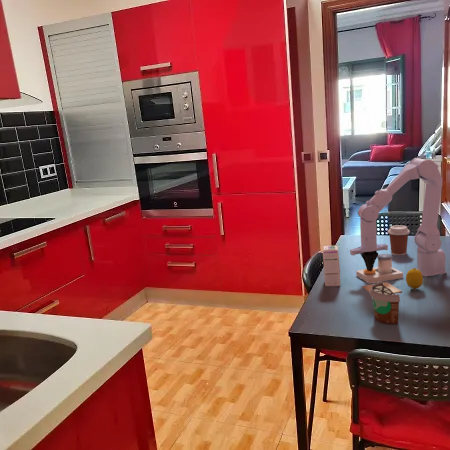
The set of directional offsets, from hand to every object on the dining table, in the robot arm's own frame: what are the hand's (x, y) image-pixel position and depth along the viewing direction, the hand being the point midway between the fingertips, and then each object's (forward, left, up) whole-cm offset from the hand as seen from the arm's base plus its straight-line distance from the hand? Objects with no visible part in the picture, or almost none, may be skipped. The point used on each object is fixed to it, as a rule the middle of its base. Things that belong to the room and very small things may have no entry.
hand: (369, 270), depth 172 cm
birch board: (+2, +12, -3) cm, 13 cm away
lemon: (-8, +17, -3) cm, 19 cm away
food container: (+14, +33, -4) cm, 36 cm away
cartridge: (-6, 0, -3) cm, 7 cm away
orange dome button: (0, 0, -3) cm, 3 cm away
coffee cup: (-26, -22, -3) cm, 34 cm away
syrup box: (+15, -1, -3) cm, 15 cm away
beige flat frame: (-4, 0, -3) cm, 5 cm away
